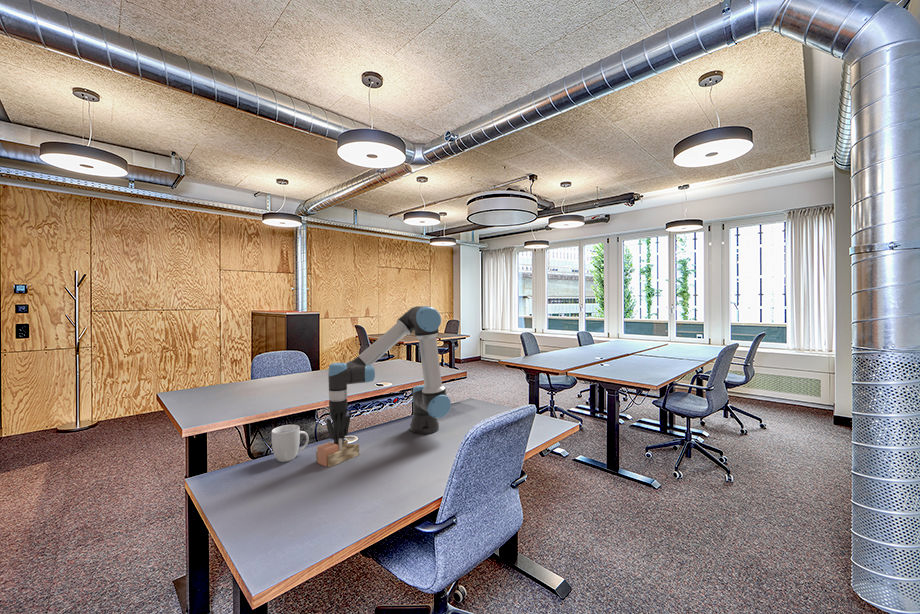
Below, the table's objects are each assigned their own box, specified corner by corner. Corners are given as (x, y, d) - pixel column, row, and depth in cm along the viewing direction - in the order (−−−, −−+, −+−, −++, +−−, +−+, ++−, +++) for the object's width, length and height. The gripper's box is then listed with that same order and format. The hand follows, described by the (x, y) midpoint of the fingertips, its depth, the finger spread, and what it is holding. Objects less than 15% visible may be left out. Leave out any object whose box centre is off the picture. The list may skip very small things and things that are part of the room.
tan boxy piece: (345, 449, 170) (345, 437, 170) (360, 454, 164) (359, 442, 164) (315, 461, 158) (315, 448, 158) (330, 467, 152) (330, 453, 151)
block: (330, 458, 161) (329, 442, 161) (338, 461, 157) (338, 445, 157) (317, 463, 156) (317, 446, 156) (326, 466, 152) (325, 449, 152)
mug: (305, 449, 171) (304, 420, 171) (312, 456, 163) (312, 427, 162) (269, 458, 162) (268, 428, 161) (275, 466, 153) (275, 435, 153)
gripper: (345, 394, 168) (346, 446, 169) (319, 401, 158) (320, 456, 158) (356, 397, 164) (356, 450, 164) (330, 404, 153) (331, 461, 154)
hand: (339, 453), depth 161 cm, fingers closed
